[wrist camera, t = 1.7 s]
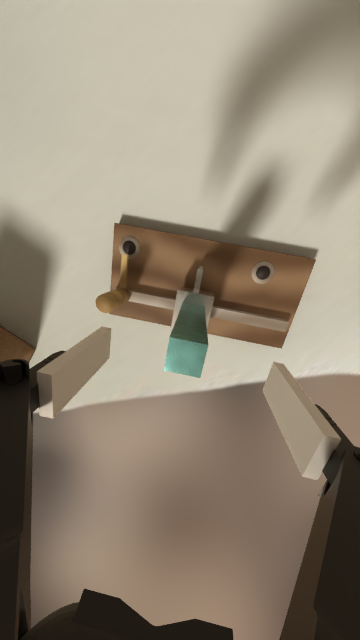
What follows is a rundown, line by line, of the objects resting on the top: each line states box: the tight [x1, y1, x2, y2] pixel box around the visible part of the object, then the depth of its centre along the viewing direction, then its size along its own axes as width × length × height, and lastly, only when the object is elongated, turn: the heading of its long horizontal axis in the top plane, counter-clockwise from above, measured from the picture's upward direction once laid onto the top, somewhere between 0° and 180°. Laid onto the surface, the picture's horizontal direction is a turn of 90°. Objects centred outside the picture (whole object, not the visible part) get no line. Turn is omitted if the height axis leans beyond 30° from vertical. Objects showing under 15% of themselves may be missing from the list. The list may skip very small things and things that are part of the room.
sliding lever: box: [164, 266, 215, 378], centre depth 22 cm, size 9×5×16 cm, turn 170°
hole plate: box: [96, 223, 316, 348], centre depth 27 cm, size 14×29×9 cm, turn 80°
